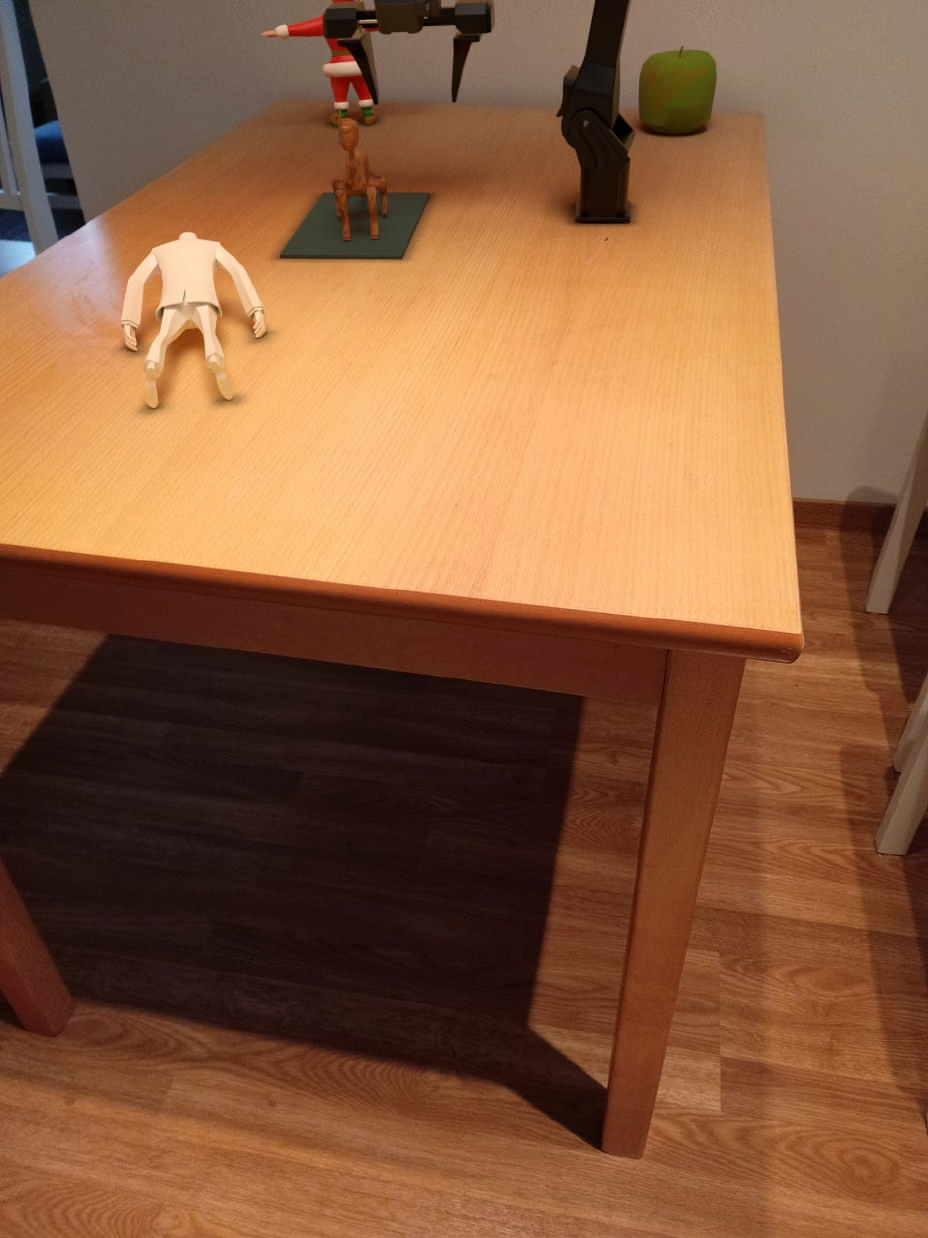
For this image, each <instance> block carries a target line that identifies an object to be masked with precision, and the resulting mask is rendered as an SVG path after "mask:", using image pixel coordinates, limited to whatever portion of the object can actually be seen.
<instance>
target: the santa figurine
mask: <svg viewBox="0 0 928 1238" xmlns="http://www.w3.org/2000/svg"><path fill="white" fill-rule="evenodd" d="M351 1H361V0H331V2H332V4H333V3H334V2H351ZM322 19H323V15H320V16H319V17H315V18H313V19H309V20H305V21H303V22H299V23H294V24H289V25H286V24H280V25H279V26H276V28H275V29H274V30H266V31H264V32H262V33H261V36H263V37H267V38H269V39H270V38H278V39H280V40H288V39H289V38H290V37H295V38H298V37H299V38H300V37H304V38H305V37H306V38H312V37H324V31H323V22H322ZM369 31H370V33H373V32H374V33H375V32H379V31H378V28H367V29H366V30H365V31H364V32H369ZM324 39H325V42H326V44H327V46H328V48H329V50H330V53H331V59H330V60H329V61H328V63H325V64H324V65H323V66H322V73H323V76H325V77H326V78H327V79H330V87H331V91H332V94H333V97H334V103H333V104H334V105H333V107H334V110H336V112H335V113H332V114H331V115H330V117H329V121H330V123H331V125H332V126H334V127H336V128H338V127H339V124H338V115H339V108H340V110H341V118H347V114H348V109H350V102H349V100H348V101H347V98H348V95H349V91H350V85H352V87H353V90H354V92H355V93H356V95H357V97H358V102H357V106H358V108H360V109H361V112H362V115H363V121H364V122H363V123H364V125H365V126H372V125H374V124H375V122H376V121H377V113H376V112H375V111H374V110H373V109H372V108H373V105H374V102H373V100H372V97H371V95H370V93H369V90H368V88H367V85H366V83H365V80H364V78H363V75H362V73H361V71H360V69H359V67H358V65H357V63H356V61H355V59H354V57H353V56H352V54H351V53H350V52H349V51H348V50H347V48H345V47H339V46H338V45H337V41H338V39H326V38H324ZM375 67H376V68H377V64H376V62H375Z"/></svg>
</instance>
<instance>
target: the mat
mask: <svg viewBox="0 0 928 1238" xmlns="http://www.w3.org/2000/svg"><path fill="white" fill-rule="evenodd" d="M430 197H431V192H387V199H388V202H387V213H386V214H385V215H383V214H382V206H381V196H380V193H379V192H377V194H376V207H377V217H378V230H379V238H378V239H371V232H370V219H369V209H368V200H367V198H366V196H364V197H361V196H351V197H349V198H348V208H349V217H350V227H351V240H349V241H344V240H343V233H342V221H341V218H340V217H338V216H337V212H336V207H335V199H334V192H322V194H321V195H320V196H319V197H318V200H317V201H316V202H315V204H314V205H313V207H312V208H311V209H310V210H309V212H308V213H307V215H306V216H305V217H304V219H303V220H302V222H301V224H299V226H298V228H297V229H296V230H295V232H294V234H292V236H291V237H290V239H289V240H288V242H287V243H286V245H285V246H284V247H283V249H282V250H281V252H280V253H279V258H280V259H365V260H366V259H368V260H369V259H372V260H375V259H378V260H379V259H381V260H382V259H383V260H384V259H386V260H402V259H403V257H404V255H405V253H406V250H407V248H408V246H409V244H410V242H411V240H412V237H413V235H414V233H415V231H416V228H417V226H418V224H419V221H420V219H421V217H422V216H423V213H424V210H425V208H426V206H427V204H428V201H429V199H430Z"/></svg>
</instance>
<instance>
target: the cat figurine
mask: <svg viewBox="0 0 928 1238" xmlns="http://www.w3.org/2000/svg"><path fill="white" fill-rule="evenodd" d="M338 124H339V127H337V129H338V130H337V134H338V137H339V138H338V142H337V144H338V145H339V149H340V150H341V149H342V150H343V151H346V152H347V153H348V154H346V155H345V168H344V173H343V174H342V175H340V176H336V177H334V178H333V179H331V188H332V191H333V193H334V199H335V207H336V212H337V216H338V217H340V218H341V221H342V233H343V240H344V241H349V240H351V227H350V217H349V208H348V198H349V197H351V196H361V197H364V196H366V198H367V200H368V209H369V219H370V232H371V239H378V238H379V230H378V217H377V207H376V194H377V193H380V196H381V206H382V214H383V215H385V214H386V213H387V202H388V199H387V193H388V186H387V185H388V180H387V178H386V176H384V175H383V174H376V173H375V172H372V169H371V165H370V161H369V155H368V154H367V153H365V152H363V151H355V149H356V148H357V147H358V146H359V140H360V137H359V135H360V134H359V125H358V123H357V121H356V120H354V119H353V118H350V117H346V118H341V110H340V108H339V115H338Z"/></svg>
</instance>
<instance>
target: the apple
mask: <svg viewBox="0 0 928 1238" xmlns="http://www.w3.org/2000/svg"><path fill="white" fill-rule="evenodd" d="M717 72H718V71H717V62H716V59H715V58H714V57H713V56H712V55H711V53H709V52H708V51H705V50H703V49H684V45H681V47H680V49H676V50H666V51H662V52H656V53H653V54H651V55H650V56H649V57H648V58H646V60H645V61H644V62H642V65H641V69H640V73H639V77H638V118H639V121H640V122H642V123H643V124H644V125H646V126H647V127H649V128H650V129H651V130H653V131H654V133H655V132H656V133H659V134H663V135H664V134H666V135H683V134H684V135H685V134H692V133H694V132H696V131H697V130H698V129H700V128H701V127H703V126H704V125H705V124H707V123H708V121H709V120H711V117H712V112H713V111H712V110H713V105H714V100H715V93H716V87H717V82H718V81H717V80H718V75H717V74H718V73H717Z"/></svg>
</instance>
